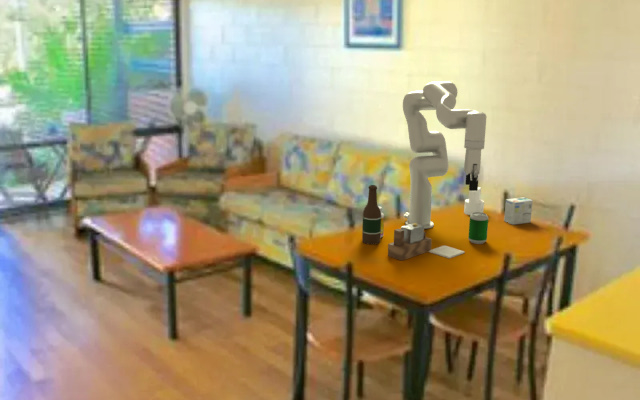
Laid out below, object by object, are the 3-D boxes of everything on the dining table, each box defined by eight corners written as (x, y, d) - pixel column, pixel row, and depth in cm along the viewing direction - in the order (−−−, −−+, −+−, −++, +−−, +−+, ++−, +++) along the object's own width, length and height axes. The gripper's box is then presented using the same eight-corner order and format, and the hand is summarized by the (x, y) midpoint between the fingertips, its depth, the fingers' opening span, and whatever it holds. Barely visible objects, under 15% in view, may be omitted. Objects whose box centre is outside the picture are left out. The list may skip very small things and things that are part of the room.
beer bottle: (382, 240, 282) (384, 184, 276) (377, 245, 275) (379, 188, 269) (364, 238, 284) (366, 182, 278) (359, 243, 277) (361, 187, 271)
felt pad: (428, 252, 268) (428, 250, 268) (444, 246, 274) (444, 245, 274) (449, 258, 261) (449, 256, 261) (464, 252, 267) (464, 251, 267)
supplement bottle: (385, 237, 285) (387, 208, 282) (371, 239, 283) (372, 209, 280) (379, 233, 291) (380, 204, 288) (365, 234, 289) (366, 205, 286)
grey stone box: (410, 244, 261) (411, 227, 259) (400, 241, 265) (401, 224, 263) (423, 240, 266) (424, 223, 265) (413, 237, 270) (414, 221, 268)
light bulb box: (521, 218, 316) (523, 196, 313) (531, 222, 310) (533, 200, 307) (503, 221, 311) (505, 198, 309) (512, 225, 306) (514, 202, 303)
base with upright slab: (479, 216, 318) (481, 192, 315) (461, 213, 323) (463, 189, 320) (485, 212, 326) (487, 188, 323) (467, 209, 330) (469, 185, 327)
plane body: (401, 260, 258) (402, 233, 255) (387, 255, 263) (388, 229, 260) (430, 250, 270) (432, 224, 267) (417, 246, 275) (418, 220, 272)
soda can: (486, 245, 277) (489, 217, 274) (468, 243, 279) (470, 216, 276) (486, 239, 284) (488, 212, 281) (468, 238, 286) (470, 211, 283)
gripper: (461, 140, 267) (458, 182, 271) (467, 148, 250) (464, 192, 255) (480, 140, 266) (477, 182, 271) (488, 148, 250) (484, 193, 254)
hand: (471, 187), depth 263 cm, fingers open, 9 cm apart
